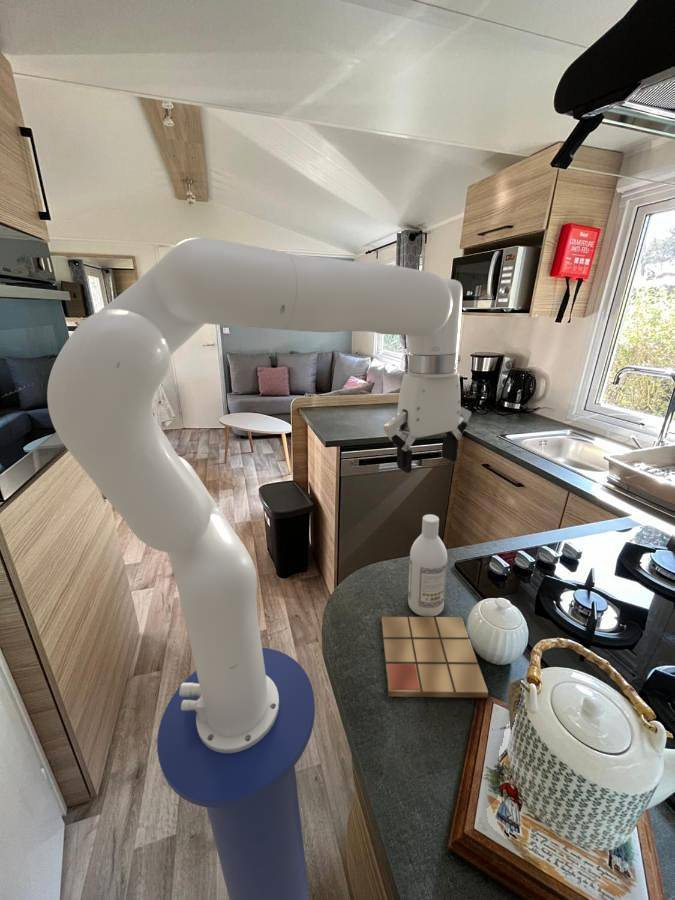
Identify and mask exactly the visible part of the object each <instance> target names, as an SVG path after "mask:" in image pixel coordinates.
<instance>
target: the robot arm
mask: <svg viewBox="0 0 675 900" xmlns="http://www.w3.org/2000/svg"><path fill="white" fill-rule="evenodd" d="M462 285H463V284H462V283H461V282H460V281H459V280H457V279H452V278H441V277H440V276H439V275H437V274H435V273H433V272H430V271H425V270H422V269H417V268H416V269H415V268H410V267H406V266H400V265H394V264H387V263H386V264H385V263H378V262H376V263H375V262H364V261H354V260H345V259H339V258H333V257H319V256H309V255H304V254H299V253H298V254H296V253H292V252H286V251H279V250H274V249H270V248H269V249H268V248H265V247H259V246H254V245H249V244H245V243H244V244H243V243H239V242H234V241H227V240H222V239H217V238H210V237H201V236H199V237H190V238H187V239H184V240H181V241H180V242H177V243H176V244H175V245H174V246H173V247H171V249H169V250H168V251H167V252H166V253H165V254H164V255H163V256H162V257H161V258H160V259H159V261H157V262H156V263H155V264H154V265H153V266H152V267H151V268H150V269H149V270H147V272H145V273H144V274H143V275H142V276H140V277H139V278H138V279H137V280H136V281H135V282H134V283H133V284H131V285H130V286H128V288H127V289H125V290H124V291H122V292H121V293H119V295H118V296H117V297H115V298H114V299H112V300H111V301H110V302H109V303H108V304H106V305H105V306H104V307H102V308H101V309H100V310H99V311H98V312H95V313H93V314H91V315H89V316H87V317H86V318H85V319H84V320H82V322H80V323H79V325H78V326H77V327H76V328H75V329H74V331H73V332H72V333H71V334H70V336H69V337H68V339H67V340H66V342H65V343H64V345H63V346H62V348H61V349H60V351H59V353H58V355H57V357H56V358H55V361H54V362H53V365H52V368H51V371H50V374H49V378H48V382H47V391H46V394H47V395H46V400H47V409H48V413H49V417H50V420H51V421H50V422H51V423H52V425H53V429H54V430H55V432H56V434H57V435H58V437H59V439H60V441H61V442H62V443H63V445H64V447H65V448H66V450H67V451H68V452H69V453H70V454H71V456H72V457H73V458H74V459H75V461H76V462H77V464H78V465H79V466H80V467H81V469H82V470H84V472H85V473H86V474H87V475H88V477H89V478H90V479H91V480H92V482H93V483H94V485H95V486H96V487H97V488H98V490H99V492H100V493H101V494H102V495H103V496H104V498H105V499H106V500H107V501H108V503H109V504H110V505H111V506H112V507H113V508H114V510H115V511H116V512H117V513H118V514H119V516H120V517H121V518H122V519H123V521H124V522H125V523H126V524H127V526H128V527H129V529H130V530H131V531H132V533H133V535H135V536H136V538H137V539H139V540H140V541H141V542H142V543H143V544H144V545H146V546H148V547H150V548H152V549H154V550H156V551H159V552H163V553H167V555H168V557H169V560H170V564H171V570H172V573H173V576H174V580H175V583H176V587H177V591H178V595H179V599H180V603H181V607H182V611H183V617H184V622H185V626H186V631H187V637H188V641H189V645H190V650H191V652H192V658H193V662H194V666H195V671H197V676H198V681H199V684H197V683H183V682H182V683H181V685H180V686H181V687H180V686H179V687H180V692H179V695H180V697H192V696H199V699H198V700H183V701H182V704H181V710H182V711H190V710H196V712H197V715H196V725H197V730H198V733H199V737H200V738H201V740H202V742H203V743H204V744H205V745H206V746H207V747H208V748H210V749H212V750H214V751H216V752H220V753H235V752H240V751H243V750H245V749H248V748H250V747H251V746H253V745H255V744H256V743H257V742H259V741H260V740H261V739H262V738H263V737H264V736H265V735H266V734H267V733H268V732H269V730H270V729H271V727H272V726H273V724H274V722H275V720H276V717H277V714H278V710H279V695H278V691H277V688H276V686H275V684H274V682H273V681H272V680H271V679H270V678H269V677H268V676H267V675H266V674H265V666H264V659H263V651H262V648H263V646H262V645H263V644H262V638H261V630H260V623H259V614H258V606H257V604H258V603H257V594H258V593H257V591H258V576H257V570H256V567H255V563H254V561H253V559H252V557H251V555H250V553H249V551H248V549H247V548H246V546H245V544H244V543H243V542H242V540H241V538H240V537H239V535H238V534H237V533H236V531H235V530H234V528H233V527H232V526H231V524H230V522H229V520H228V519H227V517H226V516H225V514H224V513H223V512H222V510H221V509H220V507H219V506H218V505H217V503H216V501H215V500H214V499H213V497H212V495H211V493H210V492H209V490H208V489H207V488H206V486H205V485H204V483H203V481H202V480H201V478H200V477H199V475H198V474H197V472H196V471H195V469H194V468H193V466H192V465H191V464H190V463H189V461H187V460H186V459H185V458H183V457H182V456H179V455H178V453H177V452H176V450H175V449H174V447H173V445H172V443H171V442H170V440H169V439H168V437H167V435H166V434H165V433H164V431H163V429H162V428H161V427H160V425H159V423H158V421H157V419H156V418H155V415H154V412H153V402H154V401H153V400H154V397H155V394H156V392H157V391H158V389H159V388H160V386H161V384H162V383H163V381H164V380H165V379H166V376H167V374H168V372H169V368H170V364H171V363H170V362H171V356H172V354H174V353H175V352H176V351H177V350H179V348H181V347H182V346H183V345H184V344H185V343H186V342H187V341H188V340H190V339H191V338H192V337H193V336H194V335H195V334H196V333H197V332H198V331H199V330H201V328H202V327H203V326H204V325H215V326H230V327H231V326H232V327H243V328H257V329H270V330H283V331H295V332H310V333H311V332H312V333H337V332H367V333H368V332H369V333H376V334H381V335H394V336H408V337H409V338H408V363H407V364H408V366H407V367H408V368H407V373H404V374H403V377H402V380H401V383H400V388H399V393H398V394H399V395H398V402H397V413H396V416H394V417H393V418H391V419H390V420H389V421H388V422H386V423H385V424H383V430H384V432H385V434H386V436H387V439H388V441H390V442H391V444H393V446H394V447H396V465H397V468H398V469H399V470H401V471H403V472H405V473H407V474H410V473H411V472H412V469H413V467H412V465H413V450H411V449H410V448H411V446H412V445H413V444H414V442H415V441H416V439H420V438H425V437H430V436H435V435H440V434H445V435H443V436H442V443H441V445H442V447H441V457H442V458H444V459H446V460H448V461H451V462H452V463H453V462H457V461H458V460H457V459H458V449H459V448H458V447H459V440H461V439H462V436H463V433H464V432H465V430H466V428H467V426H468V422H469V420H470V418H471V416H472V411H470V410H469V409H466V408H464V407H463V406H461V398H462V397H461V382H460V374H459V372H458V364H460V363H461V361H462V360H461V355H460V354H459V346H460V333H461V321H462V319H461V318H462V305H463V290H464V289H463V286H462ZM398 432H399V434H398Z"/></svg>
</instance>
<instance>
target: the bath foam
mask: <svg viewBox="0 0 675 900" xmlns="http://www.w3.org/2000/svg"><path fill="white" fill-rule="evenodd" d="M439 527H440V518H439V516H437V515H435V514H431V513H429V514H428V513H427V514H425V515H423V516H422V522H421V533H420V535H419V536H418V537H416V539H415V540H414V541H413V544H412V545H411V547H410V551H409V564H408V565H409V567H408V591H407V594H408V595H407V603H408V606H409V609H410V610H411V611H412V612H413V613H414V614H416V615H418V616H419V617H434V616H436V617H438V616H439V615H441V613H442V612H443V610H444V605H445V596H446V584H447V583H446V582H447V571H448V551H447V547H446V546H445V544H444V542H443V540H442V539H441V538H440V536H439V529H440V528H439Z"/></svg>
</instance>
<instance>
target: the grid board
mask: <svg viewBox="0 0 675 900" xmlns="http://www.w3.org/2000/svg"><path fill="white" fill-rule="evenodd" d="M465 625H466V624H465V622H464V621H463V618H462V616H434V617H423V616H409V615H408V616H381V630H382V631H381V632H382V638H383V639H382V642H383V650H384V651H383V652H384V662H385V672H386V683H387V685H386V686H387V694H388V695H387V696H388V697H389V698H390V697H392V698H393V697H394V698H395V697H397V698H410V697H411V698H475V699H476V698H477V699H478V698H480V699H485V698H486V699H487V698H489V690H488V688H487V685H486V682H485V679H484V676H483V673H482V670H481V668H480V665H479V662H478V660H477V656H476V654H475V650H474V648H473V645H472V643H471V640H470V637H469V634H468V631H467V629H466V626H465Z"/></svg>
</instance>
